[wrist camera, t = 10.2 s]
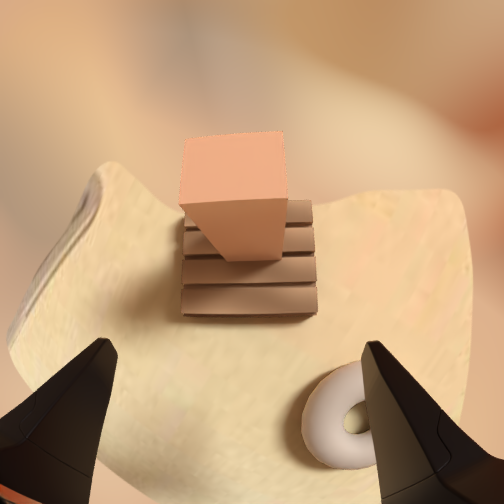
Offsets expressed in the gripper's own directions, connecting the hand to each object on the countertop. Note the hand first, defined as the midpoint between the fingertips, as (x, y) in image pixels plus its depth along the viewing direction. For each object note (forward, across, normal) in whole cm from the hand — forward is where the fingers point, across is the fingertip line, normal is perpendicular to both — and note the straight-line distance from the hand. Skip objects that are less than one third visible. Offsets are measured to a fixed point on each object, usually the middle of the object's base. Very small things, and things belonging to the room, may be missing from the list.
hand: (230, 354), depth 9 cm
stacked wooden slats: (+13, 0, +5) cm, 14 cm away
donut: (+4, -8, +15) cm, 18 cm away
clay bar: (+13, 0, +3) cm, 13 cm away
